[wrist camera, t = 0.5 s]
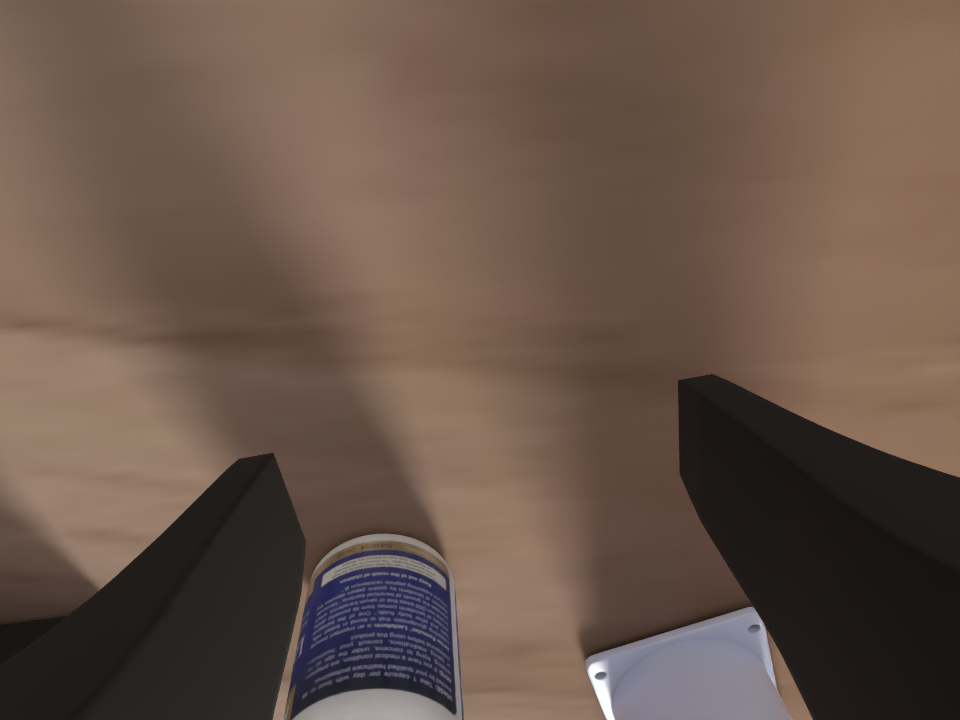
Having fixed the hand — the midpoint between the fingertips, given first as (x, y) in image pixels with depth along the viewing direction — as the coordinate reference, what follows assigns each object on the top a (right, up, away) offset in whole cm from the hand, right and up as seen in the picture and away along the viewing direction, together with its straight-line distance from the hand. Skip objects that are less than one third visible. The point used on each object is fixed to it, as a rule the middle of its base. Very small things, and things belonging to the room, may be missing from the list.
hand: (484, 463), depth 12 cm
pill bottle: (-4, -7, +15) cm, 17 cm away
